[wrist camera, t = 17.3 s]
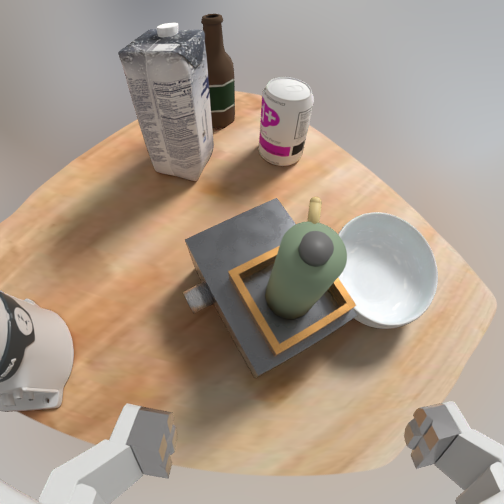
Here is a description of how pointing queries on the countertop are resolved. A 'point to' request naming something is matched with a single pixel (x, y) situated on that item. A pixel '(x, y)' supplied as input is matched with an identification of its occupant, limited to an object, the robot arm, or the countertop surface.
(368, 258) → the cereal bowl
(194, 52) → the juice carton
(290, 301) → the oil can
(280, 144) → the supplement can
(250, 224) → the box
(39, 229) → the countertop surface
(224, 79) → the beer bottle
